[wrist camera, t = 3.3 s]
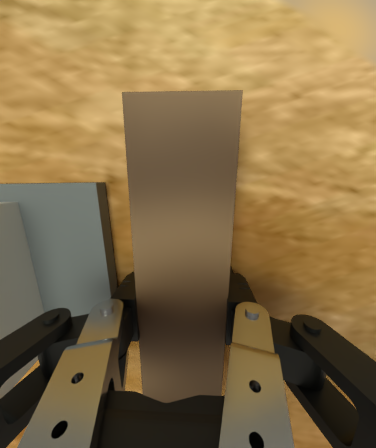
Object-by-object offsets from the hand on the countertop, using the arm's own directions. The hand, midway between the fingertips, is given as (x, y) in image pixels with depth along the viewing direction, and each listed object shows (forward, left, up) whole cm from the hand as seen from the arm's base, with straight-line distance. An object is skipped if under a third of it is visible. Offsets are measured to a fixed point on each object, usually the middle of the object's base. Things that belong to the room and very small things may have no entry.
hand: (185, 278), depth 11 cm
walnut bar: (0, 0, -1) cm, 1 cm away
